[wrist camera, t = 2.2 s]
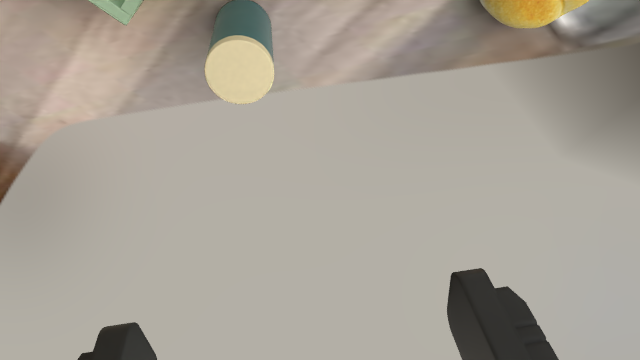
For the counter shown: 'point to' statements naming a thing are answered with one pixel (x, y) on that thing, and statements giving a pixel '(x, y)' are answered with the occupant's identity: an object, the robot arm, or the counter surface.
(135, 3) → the grid
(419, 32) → the counter surface
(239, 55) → the teal cream-capped cylinder
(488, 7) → the bread roll
